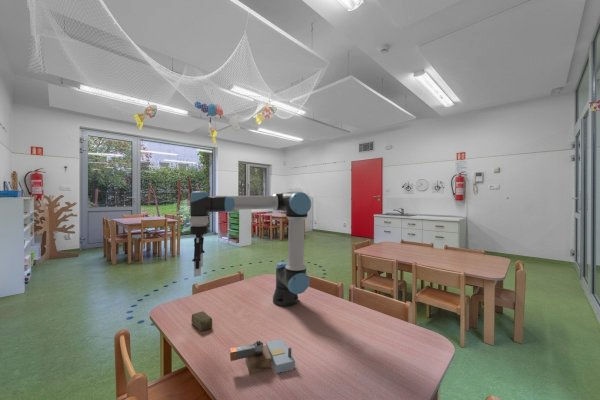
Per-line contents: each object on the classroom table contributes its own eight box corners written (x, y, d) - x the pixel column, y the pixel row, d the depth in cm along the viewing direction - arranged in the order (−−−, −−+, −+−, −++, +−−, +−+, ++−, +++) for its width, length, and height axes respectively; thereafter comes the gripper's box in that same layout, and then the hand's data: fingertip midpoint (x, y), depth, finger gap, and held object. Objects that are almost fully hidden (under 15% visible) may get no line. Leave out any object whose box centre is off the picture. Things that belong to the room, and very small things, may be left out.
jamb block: (266, 355, 99) (266, 345, 99) (271, 368, 92) (271, 357, 92) (245, 360, 96) (245, 349, 96) (249, 374, 89) (249, 362, 89)
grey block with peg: (282, 345, 106) (282, 331, 106) (294, 368, 92) (295, 352, 92) (266, 349, 103) (266, 334, 103) (276, 373, 89) (276, 356, 89)
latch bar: (261, 349, 96) (262, 338, 96) (264, 354, 93) (264, 343, 93) (229, 356, 92) (230, 344, 92) (230, 362, 89) (231, 350, 88)
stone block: (201, 332, 115) (201, 321, 115) (190, 323, 123) (190, 313, 123) (213, 328, 119) (213, 317, 119) (202, 319, 127) (202, 309, 127)
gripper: (193, 222, 127) (192, 264, 127) (186, 229, 103) (186, 280, 104) (209, 222, 129) (208, 263, 130) (206, 228, 105) (205, 279, 106)
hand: (198, 271), depth 117 cm, fingers open, 13 cm apart
